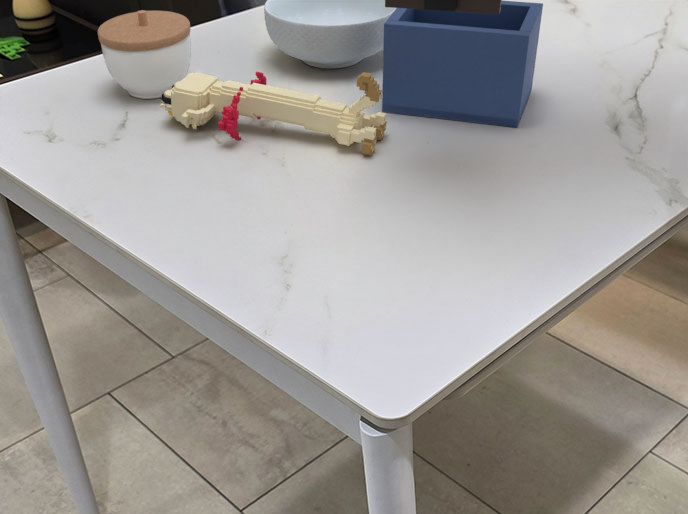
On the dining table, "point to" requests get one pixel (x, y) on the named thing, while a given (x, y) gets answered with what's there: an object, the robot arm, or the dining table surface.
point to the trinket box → (146, 51)
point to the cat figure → (276, 107)
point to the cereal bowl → (327, 29)
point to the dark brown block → (486, 3)
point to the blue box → (461, 63)
